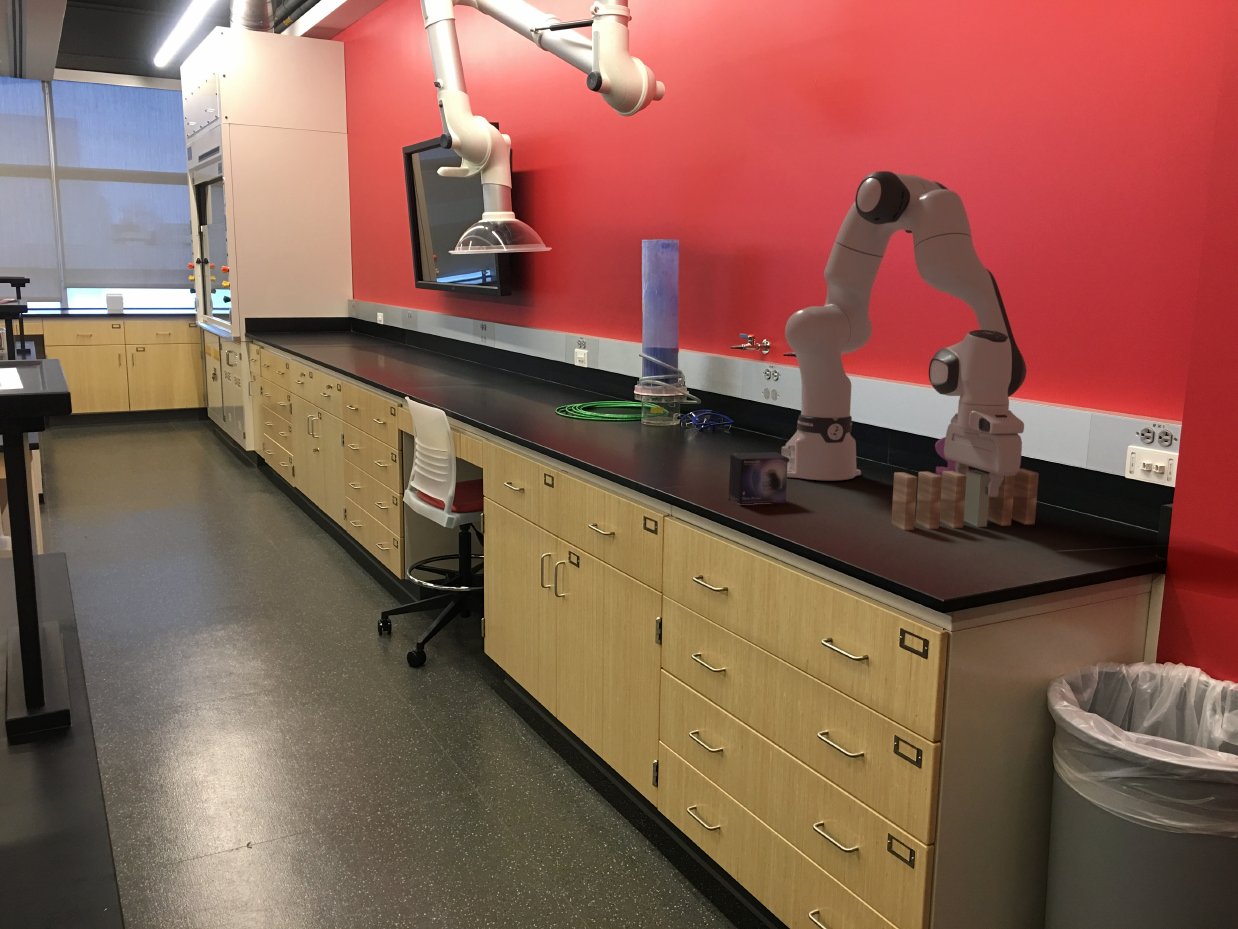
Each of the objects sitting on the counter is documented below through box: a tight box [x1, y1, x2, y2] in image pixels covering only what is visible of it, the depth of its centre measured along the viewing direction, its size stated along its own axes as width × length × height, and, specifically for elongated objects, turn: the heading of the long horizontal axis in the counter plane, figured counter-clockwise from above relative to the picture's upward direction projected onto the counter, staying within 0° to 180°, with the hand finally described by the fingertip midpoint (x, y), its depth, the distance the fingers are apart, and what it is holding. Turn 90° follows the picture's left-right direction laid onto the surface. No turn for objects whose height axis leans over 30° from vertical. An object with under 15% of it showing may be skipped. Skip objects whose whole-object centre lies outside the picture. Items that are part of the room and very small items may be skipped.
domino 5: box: [987, 475, 1015, 527], centre depth 188 cm, size 2×5×10 cm, turn 12°
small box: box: [728, 451, 788, 504], centre depth 203 cm, size 11×6×10 cm, turn 106°
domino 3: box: [939, 471, 967, 529], centre depth 186 cm, size 2×5×10 cm, turn 12°
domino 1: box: [890, 471, 918, 531], centre depth 184 cm, size 2×5×10 cm, turn 12°
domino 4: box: [964, 469, 990, 528], centre depth 187 cm, size 2×5×10 cm, turn 12°
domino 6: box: [1012, 468, 1040, 525], centre depth 189 cm, size 2×5×10 cm, turn 12°
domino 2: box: [915, 471, 942, 530], centre depth 185 cm, size 2×5×10 cm, turn 12°
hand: (977, 491), depth 187 cm, fingers open, 8 cm apart
